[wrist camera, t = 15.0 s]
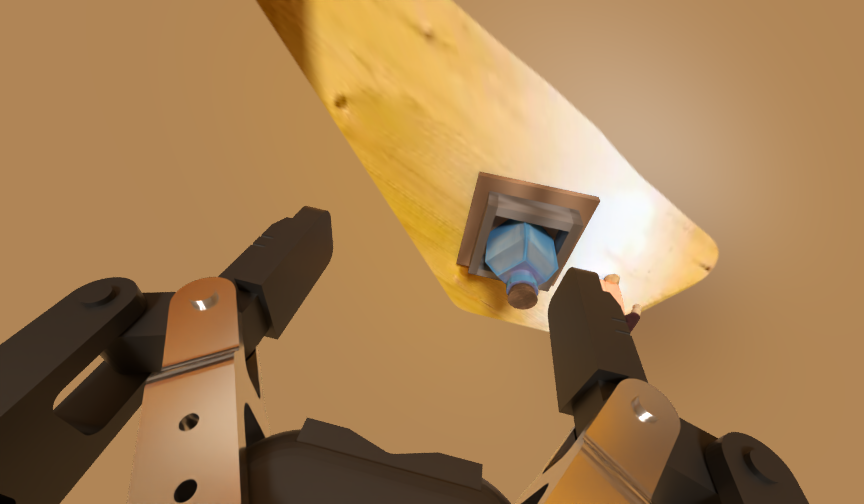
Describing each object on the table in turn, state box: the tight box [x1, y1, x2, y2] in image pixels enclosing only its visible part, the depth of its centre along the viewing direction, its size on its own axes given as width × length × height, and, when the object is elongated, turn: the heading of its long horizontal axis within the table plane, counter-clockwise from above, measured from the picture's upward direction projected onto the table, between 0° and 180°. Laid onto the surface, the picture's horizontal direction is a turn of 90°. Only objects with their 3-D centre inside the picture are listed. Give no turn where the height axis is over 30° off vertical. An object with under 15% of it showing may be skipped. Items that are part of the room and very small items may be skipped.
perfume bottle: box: [485, 219, 558, 309], centre depth 39 cm, size 6×6×12 cm
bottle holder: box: [456, 172, 600, 292], centre depth 43 cm, size 15×15×4 cm
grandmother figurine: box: [600, 274, 642, 332], centre depth 43 cm, size 8×4×13 cm, turn 133°
